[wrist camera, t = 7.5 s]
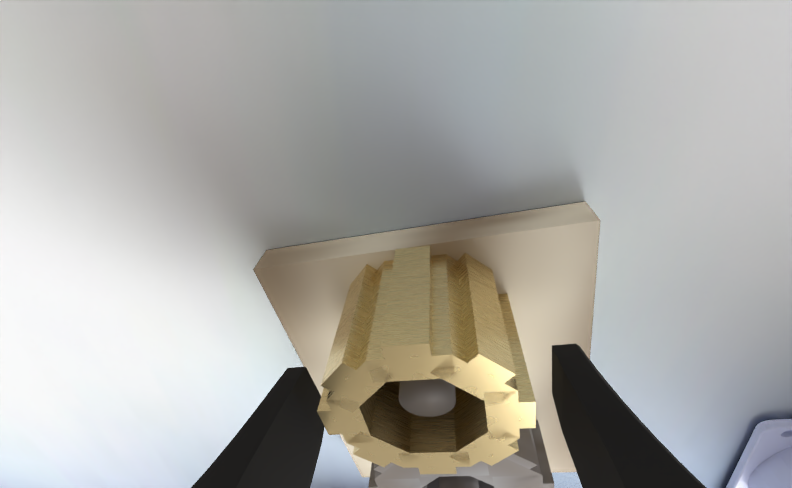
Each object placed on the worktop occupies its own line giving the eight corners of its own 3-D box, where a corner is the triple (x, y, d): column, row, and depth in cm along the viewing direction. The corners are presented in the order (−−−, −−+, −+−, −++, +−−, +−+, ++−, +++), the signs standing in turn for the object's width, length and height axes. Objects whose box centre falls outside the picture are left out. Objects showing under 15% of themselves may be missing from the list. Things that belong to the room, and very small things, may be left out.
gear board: (585, 201, 12) (660, 296, 8) (573, 446, 19) (608, 557, 15) (266, 250, 14) (202, 344, 10) (365, 454, 21) (351, 553, 17)
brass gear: (504, 235, 11) (536, 335, 8) (510, 360, 14) (535, 473, 11) (328, 257, 12) (288, 354, 9) (368, 369, 15) (349, 475, 12)
